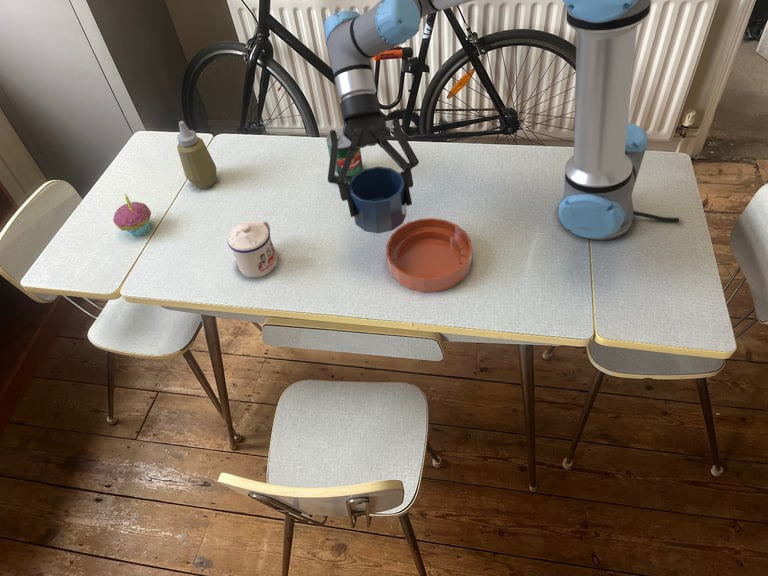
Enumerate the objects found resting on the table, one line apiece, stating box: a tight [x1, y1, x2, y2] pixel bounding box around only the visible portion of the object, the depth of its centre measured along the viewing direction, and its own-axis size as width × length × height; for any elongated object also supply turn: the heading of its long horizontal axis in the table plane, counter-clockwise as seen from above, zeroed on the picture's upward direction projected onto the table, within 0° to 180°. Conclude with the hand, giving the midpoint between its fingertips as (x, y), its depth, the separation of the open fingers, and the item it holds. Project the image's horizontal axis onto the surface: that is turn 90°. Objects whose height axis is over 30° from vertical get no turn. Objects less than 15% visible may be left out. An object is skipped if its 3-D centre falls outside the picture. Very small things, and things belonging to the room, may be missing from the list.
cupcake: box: [112, 193, 152, 237], centre depth 136 cm, size 9×8×12 cm
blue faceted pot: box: [349, 165, 407, 234], centre depth 115 cm, size 11×11×8 cm
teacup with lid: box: [227, 220, 278, 278], centre depth 126 cm, size 12×9×12 cm
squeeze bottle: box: [176, 120, 217, 190], centre depth 144 cm, size 8×8×18 cm
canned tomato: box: [325, 128, 364, 183], centre depth 144 cm, size 8×8×11 cm
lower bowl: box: [385, 217, 473, 293], centre depth 124 cm, size 18×18×4 cm
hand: (381, 210), depth 113 cm, fingers closed on blue faceted pot, 11 cm apart
